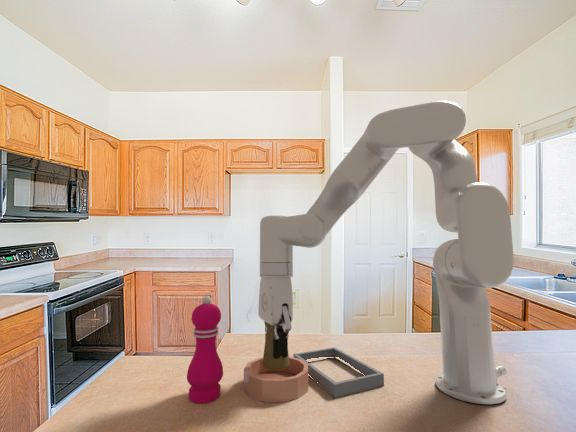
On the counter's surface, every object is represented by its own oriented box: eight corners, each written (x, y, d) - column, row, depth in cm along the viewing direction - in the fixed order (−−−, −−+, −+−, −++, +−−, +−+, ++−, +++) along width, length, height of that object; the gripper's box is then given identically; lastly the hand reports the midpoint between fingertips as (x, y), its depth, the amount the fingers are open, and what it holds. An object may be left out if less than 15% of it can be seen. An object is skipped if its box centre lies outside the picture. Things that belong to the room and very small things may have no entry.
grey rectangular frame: (334, 356, 83) (334, 347, 83) (384, 385, 65) (383, 373, 66) (293, 364, 78) (293, 354, 78) (334, 397, 60) (334, 384, 61)
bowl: (291, 369, 75) (291, 352, 75) (319, 393, 62) (319, 373, 63) (237, 379, 69) (237, 361, 70) (256, 408, 57) (256, 385, 57)
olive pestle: (286, 370, 63) (286, 316, 64) (258, 368, 64) (259, 315, 65) (292, 360, 69) (291, 310, 70) (266, 358, 70) (266, 309, 71)
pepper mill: (185, 391, 63) (188, 294, 66) (220, 385, 66) (221, 293, 68) (186, 408, 57) (189, 300, 59) (225, 401, 59) (226, 297, 61)
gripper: (249, 268, 74) (248, 345, 72) (274, 273, 59) (274, 370, 57) (277, 267, 77) (277, 341, 76) (308, 272, 62) (309, 364, 60)
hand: (276, 353), depth 66 cm, fingers closed on olive pestle, 4 cm apart
